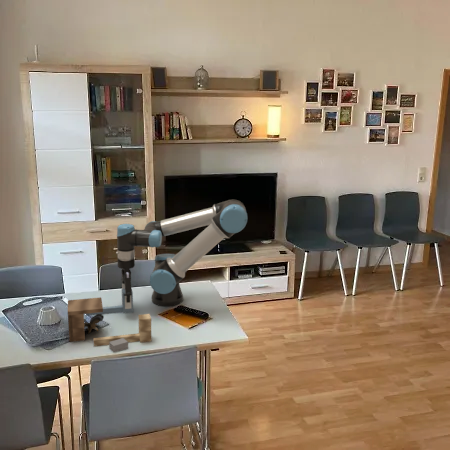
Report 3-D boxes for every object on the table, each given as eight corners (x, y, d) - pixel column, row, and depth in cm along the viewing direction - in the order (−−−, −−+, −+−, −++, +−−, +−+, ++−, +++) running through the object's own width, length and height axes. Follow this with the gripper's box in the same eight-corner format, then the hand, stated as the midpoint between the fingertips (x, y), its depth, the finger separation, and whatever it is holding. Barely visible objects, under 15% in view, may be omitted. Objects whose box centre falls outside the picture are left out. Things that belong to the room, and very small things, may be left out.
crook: (132, 308, 231) (131, 288, 229) (135, 319, 220) (134, 298, 217) (81, 313, 225) (80, 292, 222) (82, 324, 214) (81, 303, 211)
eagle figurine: (101, 332, 204) (108, 320, 212) (90, 320, 202) (97, 307, 210) (87, 340, 206) (94, 327, 214) (76, 327, 204) (84, 315, 212)
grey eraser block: (123, 344, 197) (123, 337, 197) (128, 348, 194) (127, 341, 194) (109, 348, 194) (109, 341, 193) (113, 353, 191) (113, 345, 190)
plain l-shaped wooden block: (149, 336, 205) (149, 313, 202) (151, 341, 200) (151, 318, 198) (93, 342, 198) (92, 319, 196) (94, 347, 194) (92, 324, 192)
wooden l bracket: (102, 325, 213) (101, 297, 210) (104, 338, 202) (102, 308, 199) (69, 328, 209) (67, 300, 206) (69, 342, 198) (67, 311, 195)
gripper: (115, 250, 233) (116, 293, 238) (120, 267, 210) (120, 314, 215) (131, 249, 235) (131, 291, 240) (137, 266, 212) (138, 312, 217)
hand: (126, 302), depth 228 cm, fingers open, 13 cm apart
